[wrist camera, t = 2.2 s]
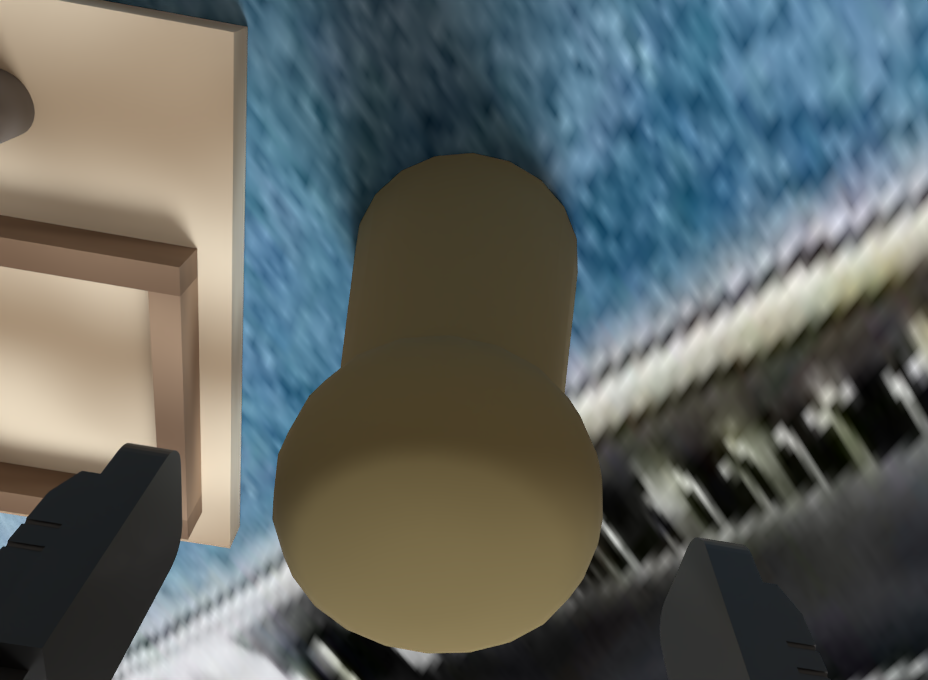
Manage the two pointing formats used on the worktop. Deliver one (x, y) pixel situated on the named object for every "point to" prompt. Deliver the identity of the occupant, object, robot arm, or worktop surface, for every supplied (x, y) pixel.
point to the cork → (447, 421)
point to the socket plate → (121, 249)
